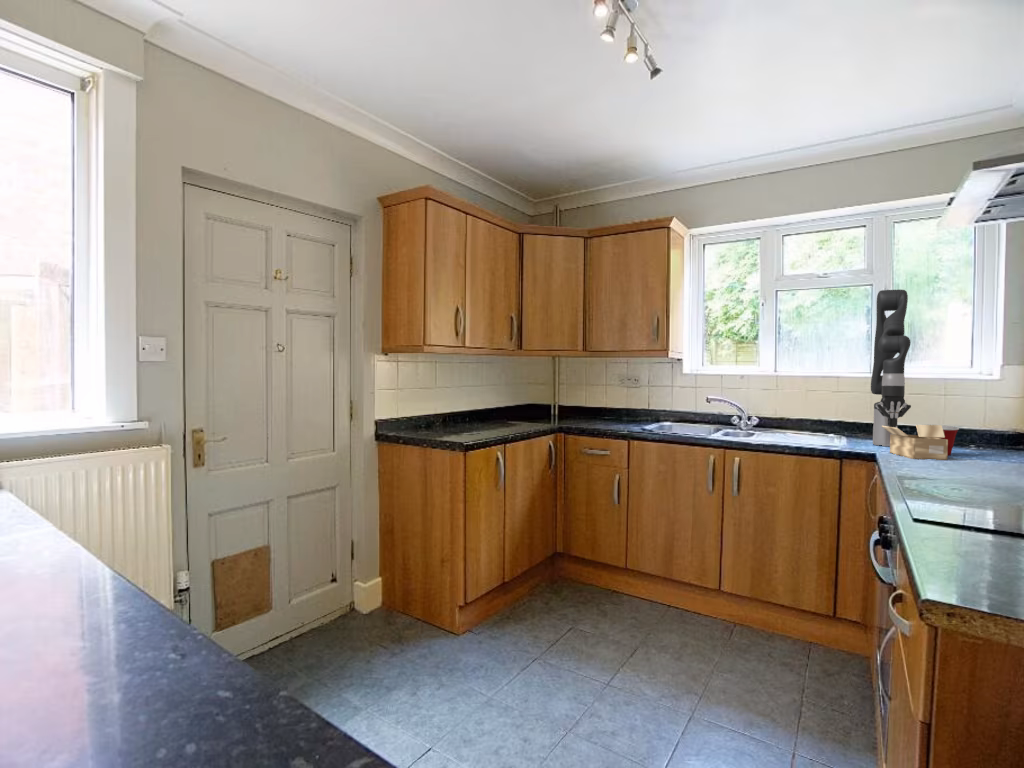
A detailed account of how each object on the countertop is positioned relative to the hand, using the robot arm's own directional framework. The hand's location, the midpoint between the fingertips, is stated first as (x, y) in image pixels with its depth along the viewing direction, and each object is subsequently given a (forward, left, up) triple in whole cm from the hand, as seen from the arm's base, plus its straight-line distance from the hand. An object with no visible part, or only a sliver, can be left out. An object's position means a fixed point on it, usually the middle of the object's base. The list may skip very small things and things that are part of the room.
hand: (892, 427), depth 214 cm
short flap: (+7, +10, -1) cm, 12 cm away
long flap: (0, +1, -1) cm, 2 cm away
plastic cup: (-9, +24, -12) cm, 29 cm away
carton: (+1, +9, -12) cm, 15 cm away
